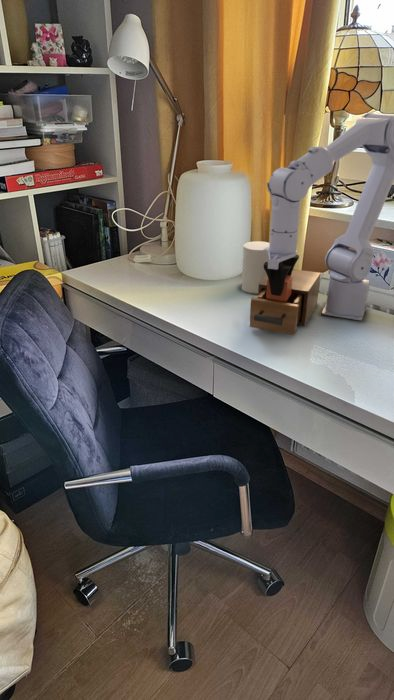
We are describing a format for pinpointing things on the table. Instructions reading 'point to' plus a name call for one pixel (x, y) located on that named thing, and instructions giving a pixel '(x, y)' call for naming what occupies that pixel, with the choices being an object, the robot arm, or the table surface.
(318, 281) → the cabinet
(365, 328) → the table surface
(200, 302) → the table surface
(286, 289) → the block
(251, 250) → the cream upright cylinder
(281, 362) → the table surface
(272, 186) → the robot arm
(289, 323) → the drawer
